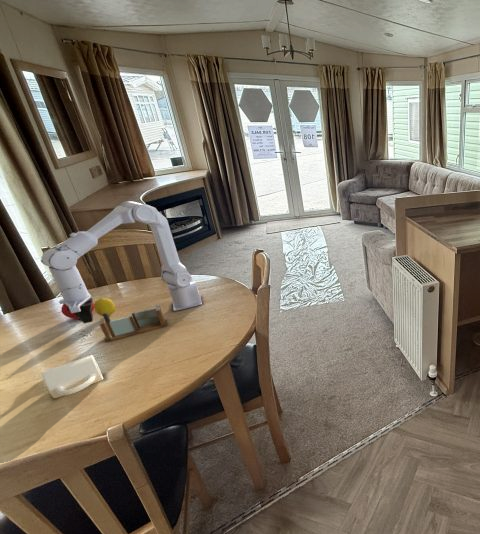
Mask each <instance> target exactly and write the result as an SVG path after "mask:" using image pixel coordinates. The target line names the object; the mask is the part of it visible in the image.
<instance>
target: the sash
mask: <svg viewBox="0 0 480 534" xmlns="http://www.w3.org/2000/svg"><path fill="white" fill-rule="evenodd" d="M102 317H103V318H104V319H105V321H106V324H107V327H108V329H109V331H110V333H111V335H112V337H114V336H117V335H121V334H125V333H129V332H133V331H138V328H137V326H136V323H135V321H134V318H133V316H132V315H129V316H126V317H122V318H117V319H113V320H111V319H110V316H109V317H108V314H107V313H103V316H102Z"/></svg>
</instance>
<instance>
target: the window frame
mask: <svg viewBox="0 0 480 534" xmlns="http://www.w3.org/2000/svg"><path fill="white" fill-rule="evenodd" d="M131 316H133V318H134V321H135V323H136V326H137V328H138V331H133V332H129V333H125V334H121V335H117V336H114V337H112V335H111V333H110V331H109V329H108V327H107V324H106V321H105V319H104V317H103V318H100V322H99V327H100V329H101V330H102V332H103V335H104V338H105V339H106V341H107V342H111V341H115V340H118V339H123V338H126V337H130V336H134V335H138V334H142V333H145V332H149V331H153V330H157V329H160V328H164V327H166V319H165V317H164V314H163V311H162V309H161V306H160V305H155V307H152V308H149V309H145V310H140V311H136V312H132V313H131Z"/></svg>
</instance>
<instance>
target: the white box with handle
mask: <svg viewBox="0 0 480 534" xmlns="http://www.w3.org/2000/svg"><path fill="white" fill-rule="evenodd" d="M41 376H42V379H43V382H44V385H45V387H46V389H47V391H48V392H49V394H50V396H51V397H52V398H53V399H58V398H60V397H62V396H69V395H70V396H71V395H73V394H76V393H78V392H81V391H82V390H84V389H86V388H88V387H89V386H90V385H93V384H96V383H99V382H100V381H103V380H104V376H103V374H102V371H101V368H100V367H99V364H98V362H97V360H96V357H94V355H93V354H90V355H88V356H85V357H82V358H79V359H76V360H73V361H70V362H67V363H64V364H61V365H58V366H55V367H52V368H49V369H47V370H44V371H42V373H41Z"/></svg>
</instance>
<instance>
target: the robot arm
mask: <svg viewBox="0 0 480 534" xmlns="http://www.w3.org/2000/svg"><path fill="white" fill-rule="evenodd" d="M136 221H137V222H139V223H143V224H146V225H148V226H149V227H150V230H151V232H152V236H153V238H154V241H155V244H156V245H155V246H156V248H157V251H158V253H159V257H160V260H161V263H162V265H161V266H160V270H161V275H160V278H161V280H162V281H163V282H164V283H165V284H167V289H168V292H169V295H170V297H171V300H172V309H173V311H174V312H177V311H181V310H185V309H189V308H194V307H197V306H200V305H203V301H202V295H201V293H200V292H199V288H198V285H197V281H193V277H192V275H191V274H190V273H189V271H188V269H187V267H186V266H185V265H184V264H183V263H182V262H181V260H180V257H179V253H178V251H177V248H176V247H177V246H176V244H175V241H174V238H173V234H172V231H171V228H170V225H169V221H168V219H167V218H166V217H165V216H164V215H163V214H162V213H161V212H159V211H158V209H157V208H156V207H154V206H151V205H149V204H146V203H140V202H136V201H132V200H127V201H124V202H122V203H121V204H120V205H118V206H116V207H115V208H113V210H111V212H110V213H108V214H106V216H104V217H102V219H100V220H99V221H98V222H96V223H95V224H94V225H93V226H92V227H90V228H89V229H88V230H87V231H86V230H85V231H77V232H71V233H70V234H69V236H70V237H68V238H67V239H66V240H64V241H63V242H61V243H60V244H55V245H54V248H49V249H47V250H45V251H44V252H43V253H42V255H41V259H40V262H41V264H43V265H44V266H46V267H48V270H49V271H50V274H51V277H52V279H53V281H54V283H55V285H56V287H57V289H58V291H59V293H60V295H61V297H62V299H60V300H59V301H58V303H59V305H63V304H64V303H65V304H66V305H67V310H68V311H70V312H71V313H73V314H75V315H76V316H77V317H78V318H77V319H79V320H80V321H81V322H82V324H88V323H93V321H94V315H93V312H92V301H93V298H92V295H91V294H90V293H89V291H88V289H87V287H86V284H85V282H84V280H83V278H82V276H81V273H80V271H79V269H78V267H77V266H76V265H77V263H78V260H79V258H81V257H82V256H84V255H85V254H87V253H88V252H89V251H90V250H92V249H93V248H95V247H96V246H97V245H98V243H99V241H98V240H99V239H100V238H102V237H103V236H104V235H106V234H108V233H109V232H111V231H112V230H114V229H116V228H117V227H118V226H120V225H122V224H134V223H136Z"/></svg>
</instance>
